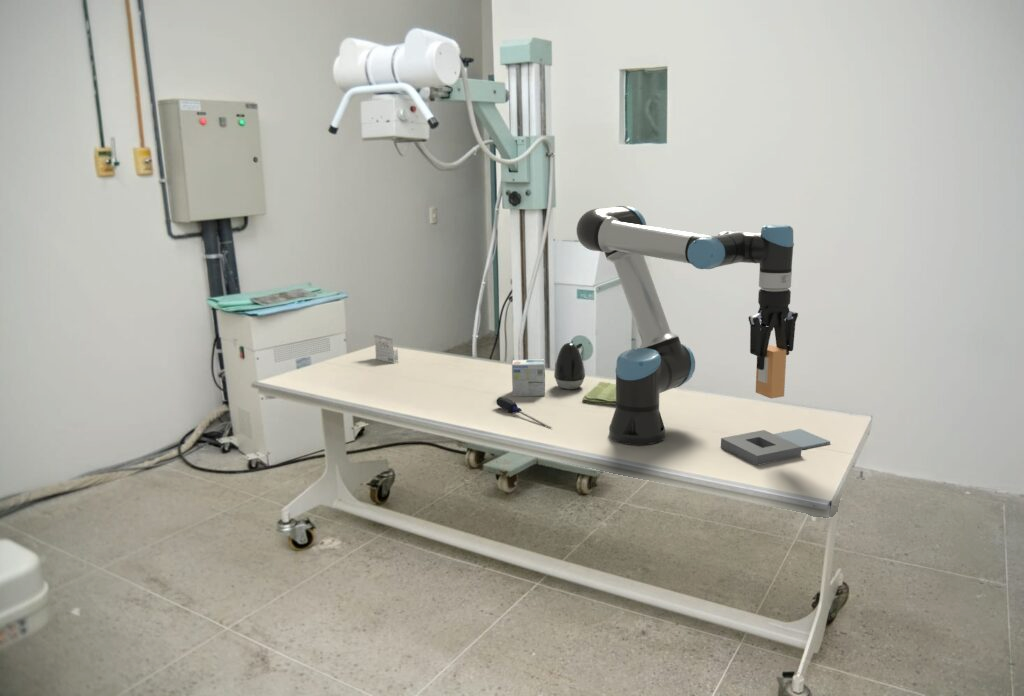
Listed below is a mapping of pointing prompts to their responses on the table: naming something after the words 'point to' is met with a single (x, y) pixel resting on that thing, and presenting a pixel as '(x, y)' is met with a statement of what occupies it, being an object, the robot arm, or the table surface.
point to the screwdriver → (514, 408)
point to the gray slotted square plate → (750, 450)
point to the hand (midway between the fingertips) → (770, 380)
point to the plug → (773, 374)
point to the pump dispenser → (569, 367)
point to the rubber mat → (803, 438)
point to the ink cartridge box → (385, 349)
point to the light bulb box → (528, 377)
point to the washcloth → (602, 394)
